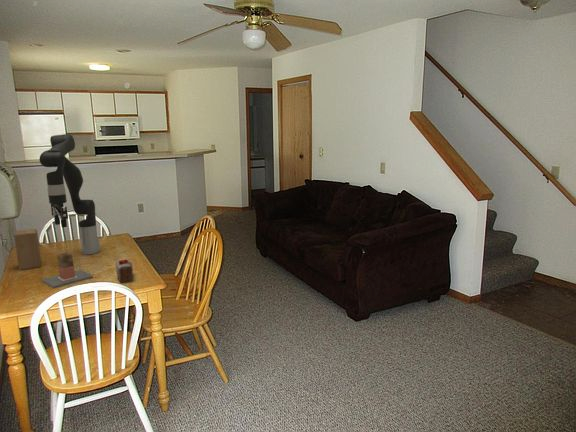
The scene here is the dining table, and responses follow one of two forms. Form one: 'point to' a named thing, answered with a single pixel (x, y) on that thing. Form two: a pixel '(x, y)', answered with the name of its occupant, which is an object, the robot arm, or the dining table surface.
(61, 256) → the walnut block
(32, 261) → the wooden block
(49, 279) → the grey flat rectangular panel
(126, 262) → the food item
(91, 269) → the dining table surface
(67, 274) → the red block
